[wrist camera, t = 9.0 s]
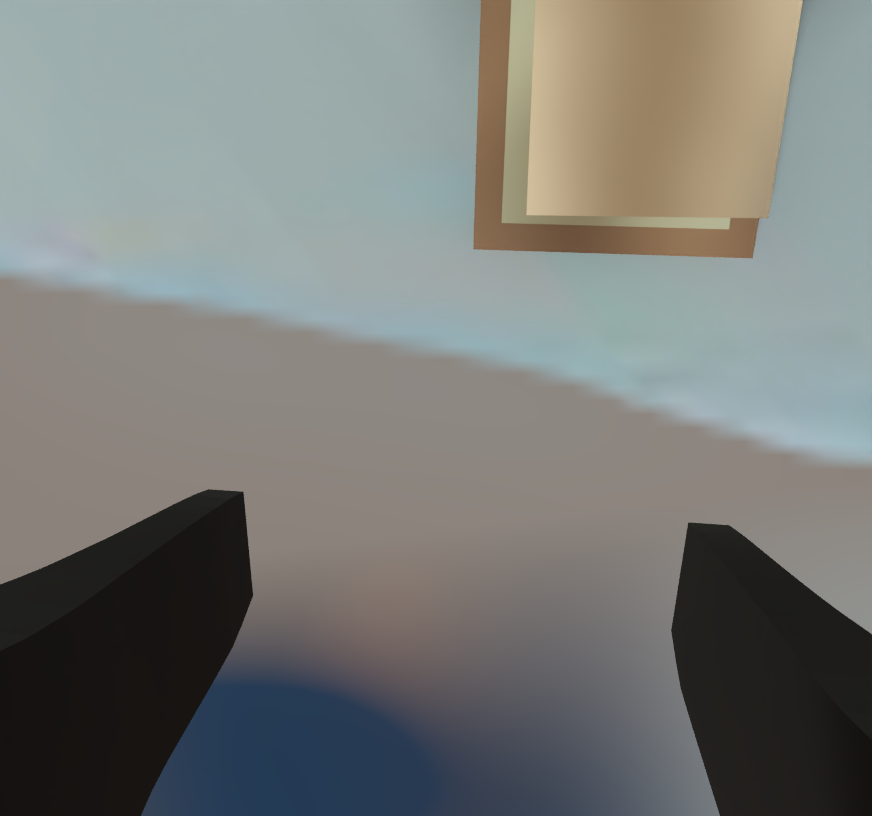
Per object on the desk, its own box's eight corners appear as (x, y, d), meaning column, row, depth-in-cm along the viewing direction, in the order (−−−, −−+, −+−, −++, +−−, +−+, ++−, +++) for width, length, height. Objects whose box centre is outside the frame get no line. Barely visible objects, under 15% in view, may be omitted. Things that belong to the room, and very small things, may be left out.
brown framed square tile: (789, -56, 17) (808, -69, 16) (739, 250, 20) (753, 258, 18) (486, -53, 18) (483, -65, 17) (476, 241, 20) (473, 249, 19)
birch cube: (740, -16, 16) (812, -61, 12) (713, 195, 18) (768, 218, 14) (535, -12, 17) (537, -54, 13) (527, 193, 19) (526, 215, 14)
